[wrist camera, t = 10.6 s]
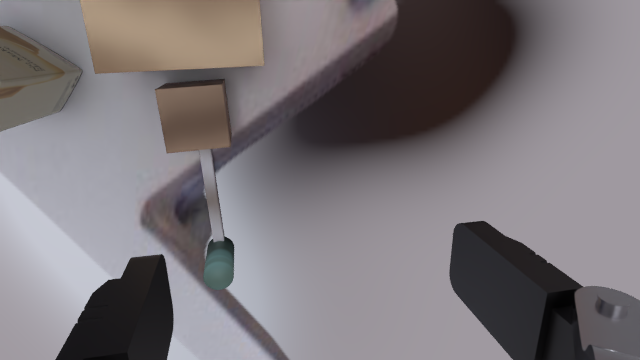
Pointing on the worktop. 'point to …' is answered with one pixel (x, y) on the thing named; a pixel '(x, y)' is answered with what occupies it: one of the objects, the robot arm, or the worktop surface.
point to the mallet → (201, 155)
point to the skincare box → (31, 79)
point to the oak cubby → (172, 34)
